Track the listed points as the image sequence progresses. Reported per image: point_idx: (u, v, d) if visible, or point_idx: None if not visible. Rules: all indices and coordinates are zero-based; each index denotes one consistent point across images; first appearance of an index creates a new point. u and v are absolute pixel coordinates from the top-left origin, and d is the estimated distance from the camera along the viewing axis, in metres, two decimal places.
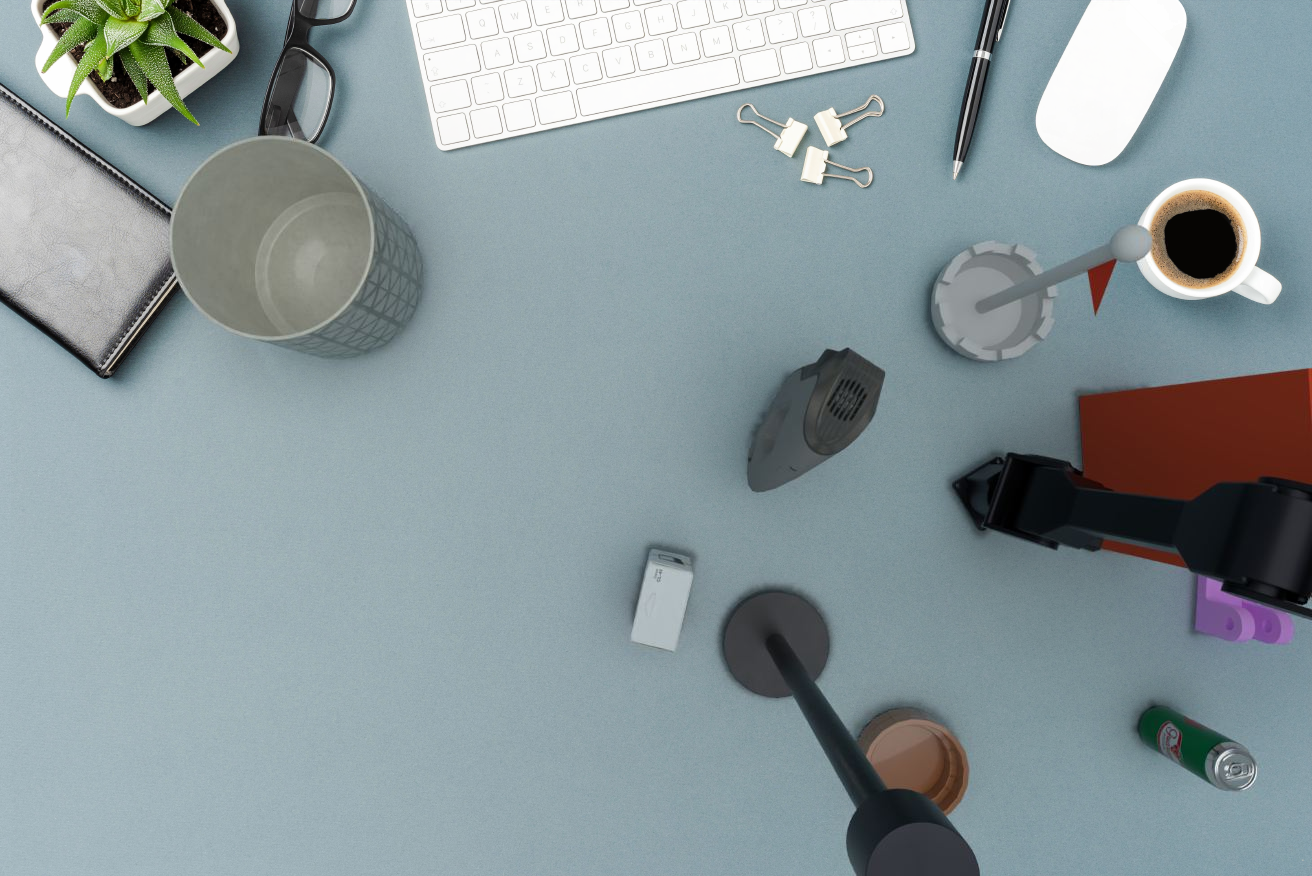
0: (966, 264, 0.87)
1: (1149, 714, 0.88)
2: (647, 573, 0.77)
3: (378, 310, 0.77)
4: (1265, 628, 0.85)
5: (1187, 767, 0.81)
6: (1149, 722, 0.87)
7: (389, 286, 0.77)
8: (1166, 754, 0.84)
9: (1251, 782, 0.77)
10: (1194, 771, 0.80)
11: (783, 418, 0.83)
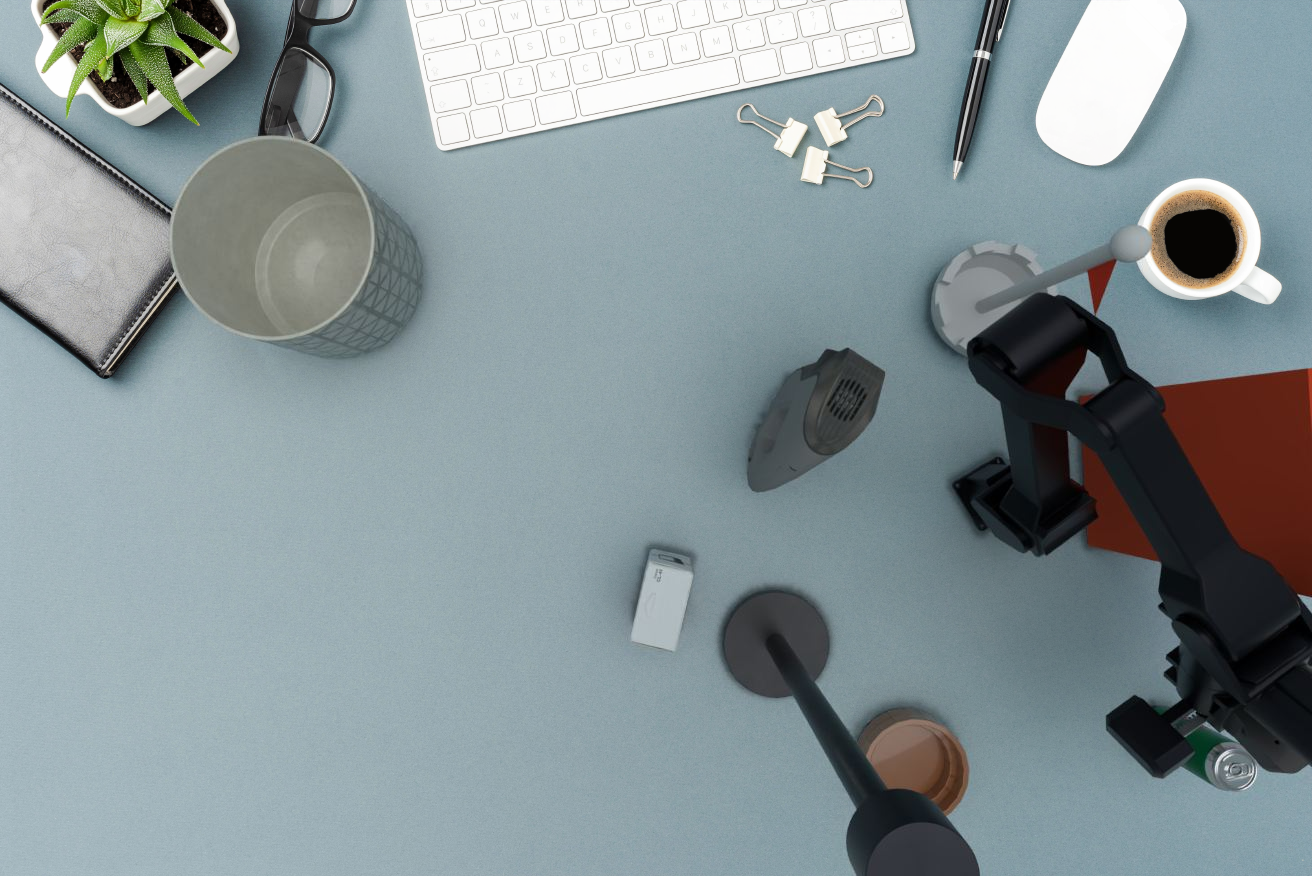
0: (966, 264, 0.87)
1: None
2: (647, 573, 0.77)
3: (378, 310, 0.77)
4: None
5: (1187, 767, 0.81)
6: None
7: (389, 286, 0.77)
8: None
9: (1251, 782, 0.77)
10: (1194, 771, 0.80)
11: (783, 418, 0.83)
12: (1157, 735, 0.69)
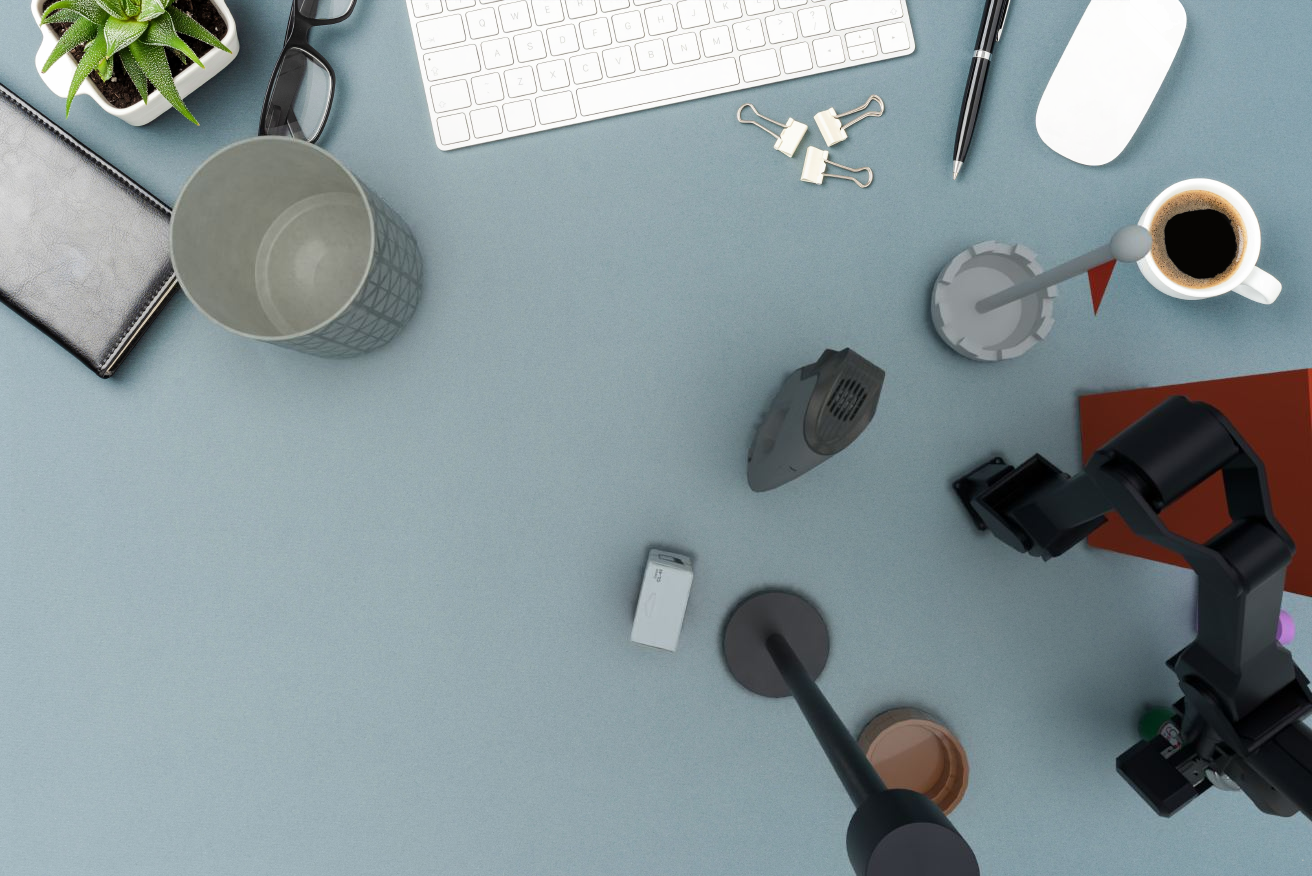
0: (966, 264, 0.87)
1: (1149, 714, 0.88)
2: (647, 573, 0.77)
3: (378, 310, 0.77)
4: None
5: None
6: (1149, 722, 0.87)
7: (389, 286, 0.77)
8: None
9: None
10: None
11: (783, 418, 0.83)
12: (1163, 778, 0.75)
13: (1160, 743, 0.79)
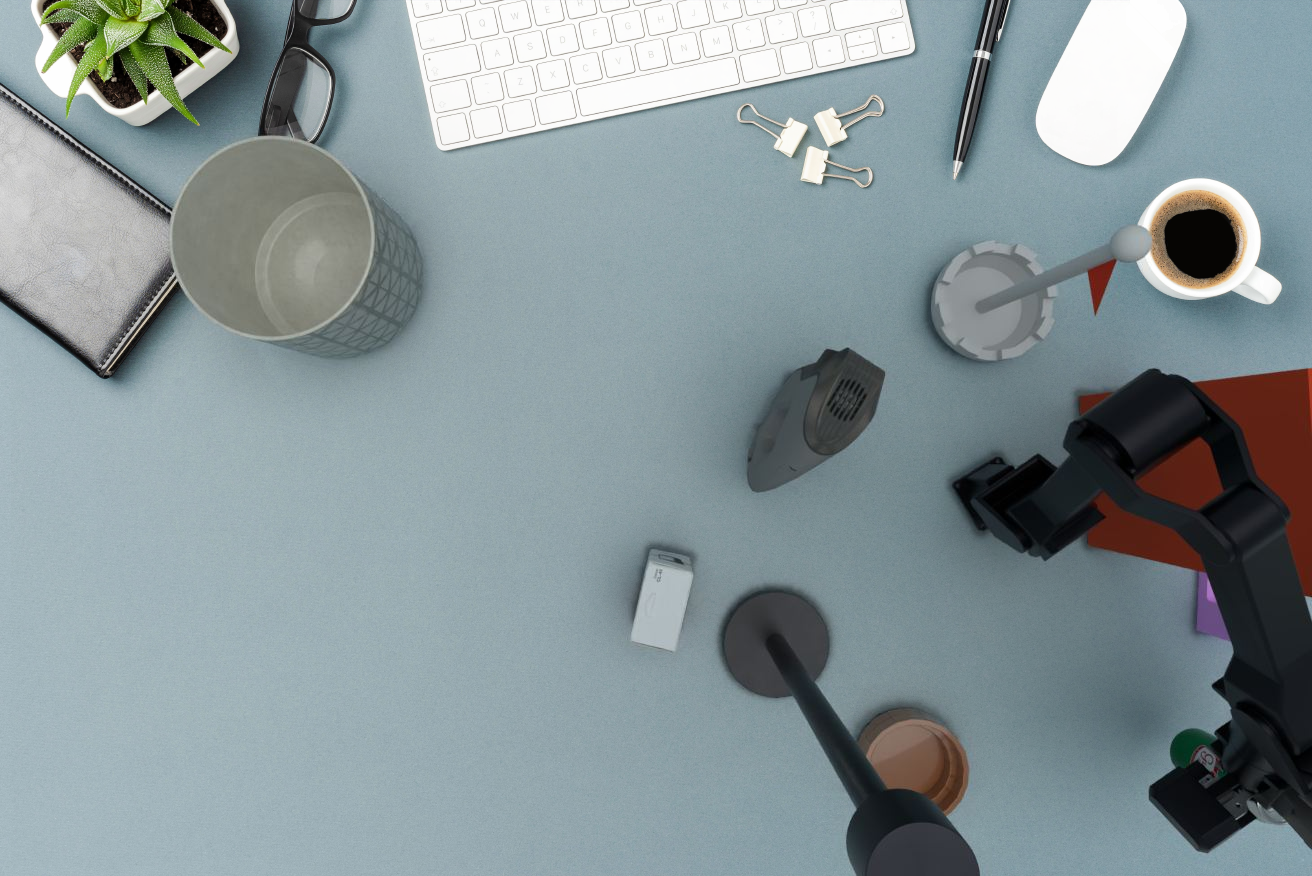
0: (966, 264, 0.87)
1: (1181, 736, 0.81)
2: (647, 573, 0.77)
3: (378, 310, 0.77)
4: None
5: None
6: (1181, 745, 0.81)
7: (389, 286, 0.77)
8: None
9: None
10: None
11: (783, 418, 0.83)
12: (1203, 810, 0.68)
13: (1197, 771, 0.73)
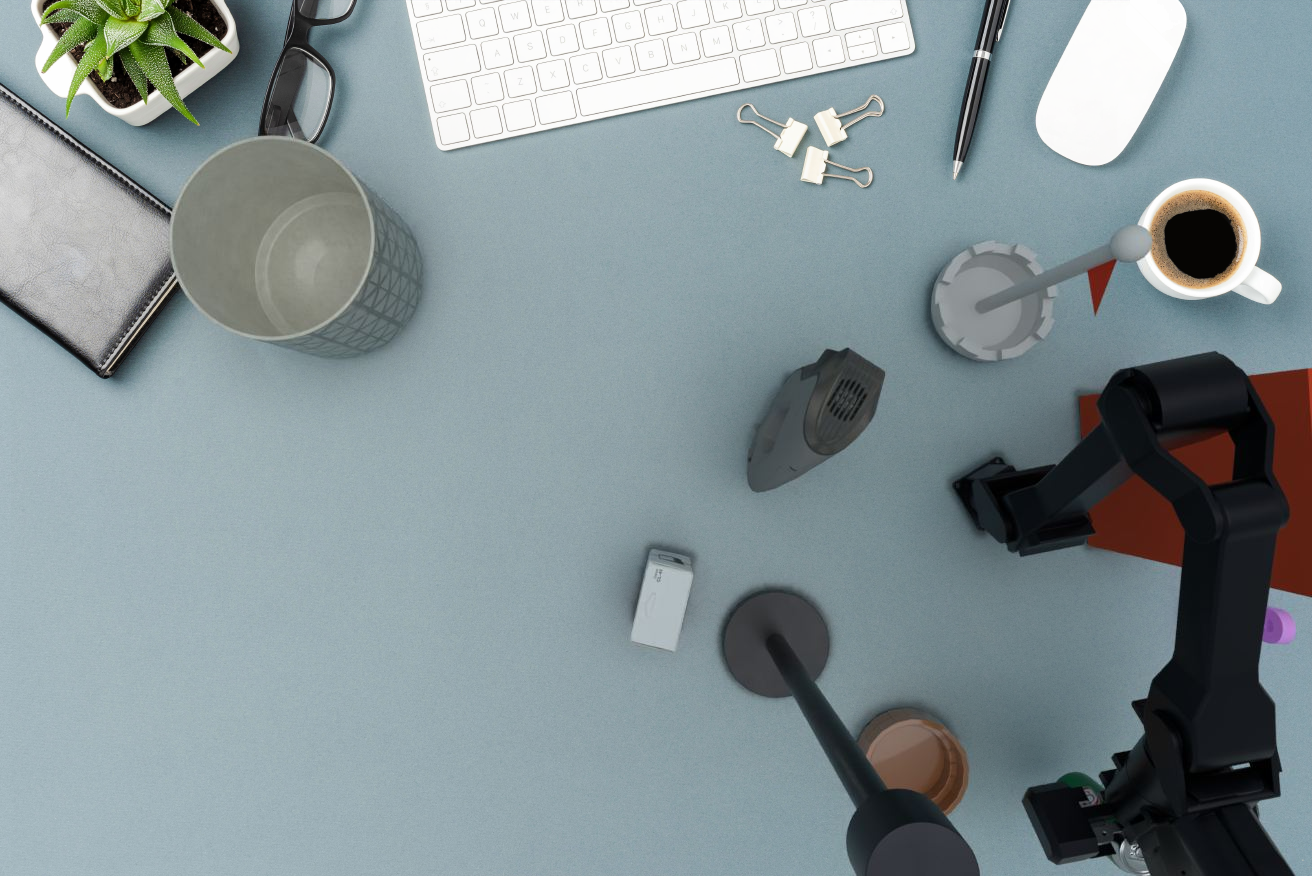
0: (966, 264, 0.87)
1: (1070, 775, 0.81)
2: (647, 573, 0.77)
3: (378, 310, 0.77)
4: (1267, 628, 0.85)
5: None
6: (1067, 782, 0.81)
7: (389, 286, 0.77)
8: None
9: None
10: None
11: (783, 418, 0.83)
12: (1070, 823, 0.68)
13: (1077, 795, 0.73)
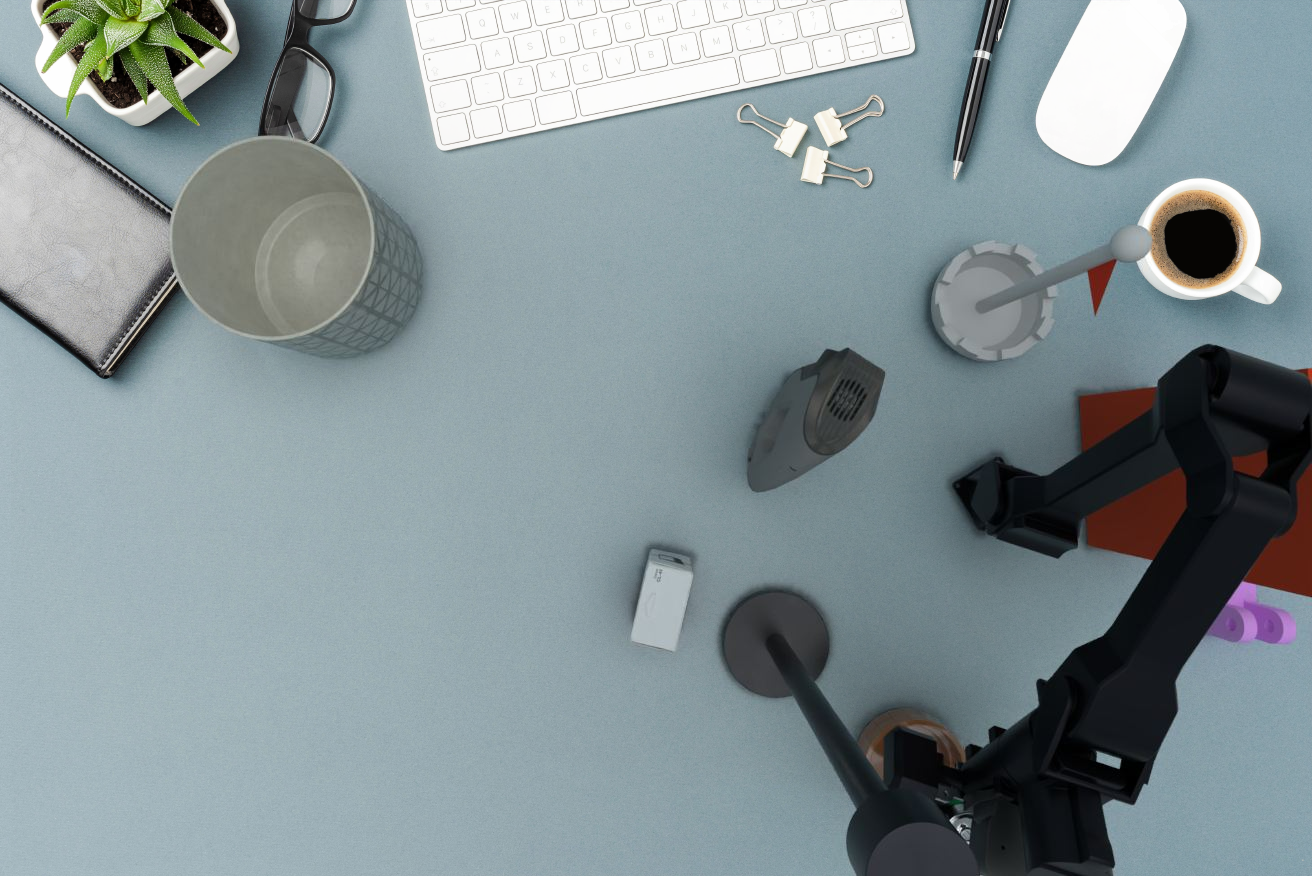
0: (966, 264, 0.87)
1: None
2: (647, 573, 0.77)
3: (378, 310, 0.77)
4: (1267, 628, 0.85)
5: None
6: None
7: (389, 286, 0.77)
8: None
9: None
10: None
11: (783, 418, 0.83)
12: (921, 767, 0.69)
13: None
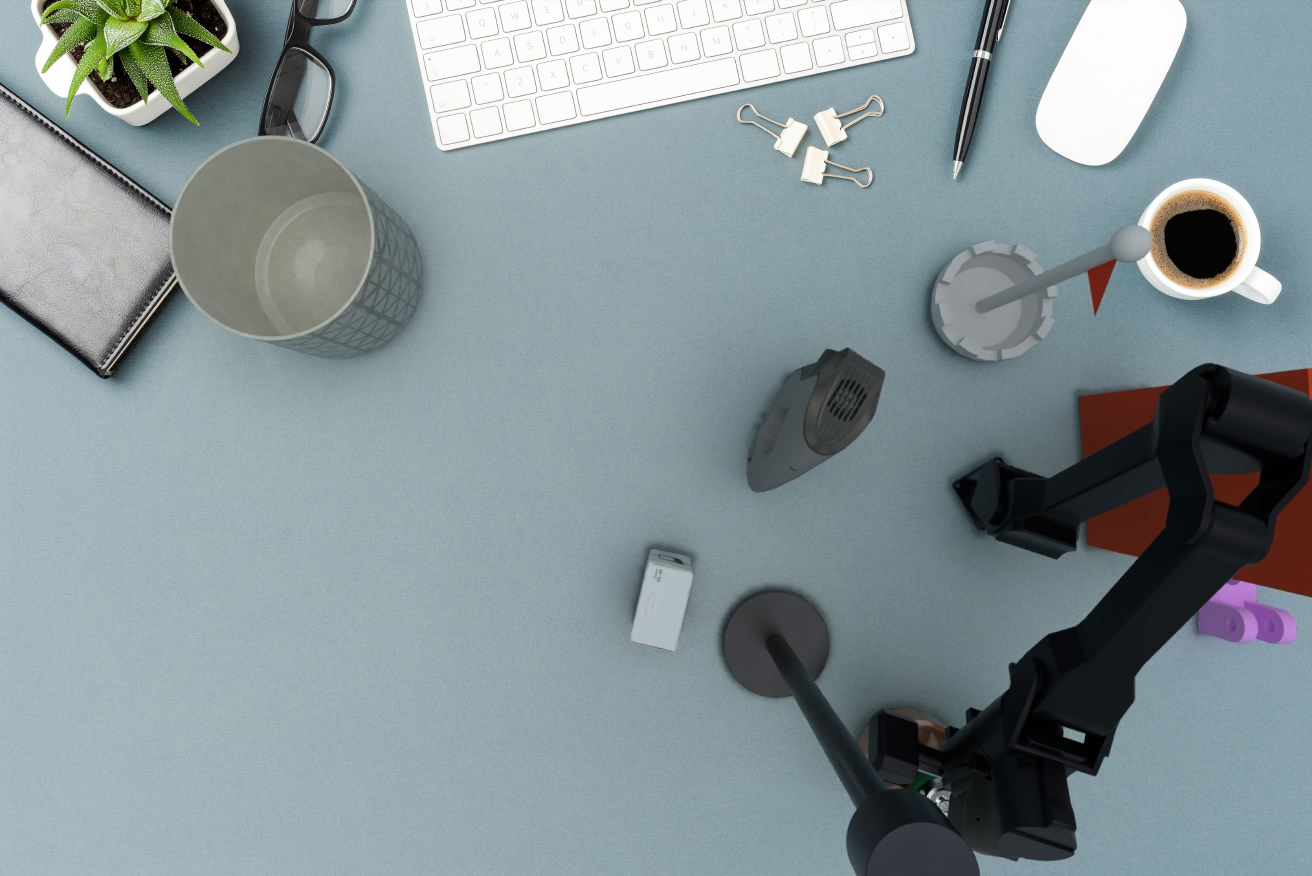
0: (966, 264, 0.87)
1: None
2: (647, 573, 0.77)
3: (378, 310, 0.77)
4: (1268, 628, 0.85)
5: None
6: None
7: (389, 286, 0.77)
8: None
9: None
10: (912, 784, 0.79)
11: (783, 418, 0.83)
12: (903, 746, 0.73)
13: None
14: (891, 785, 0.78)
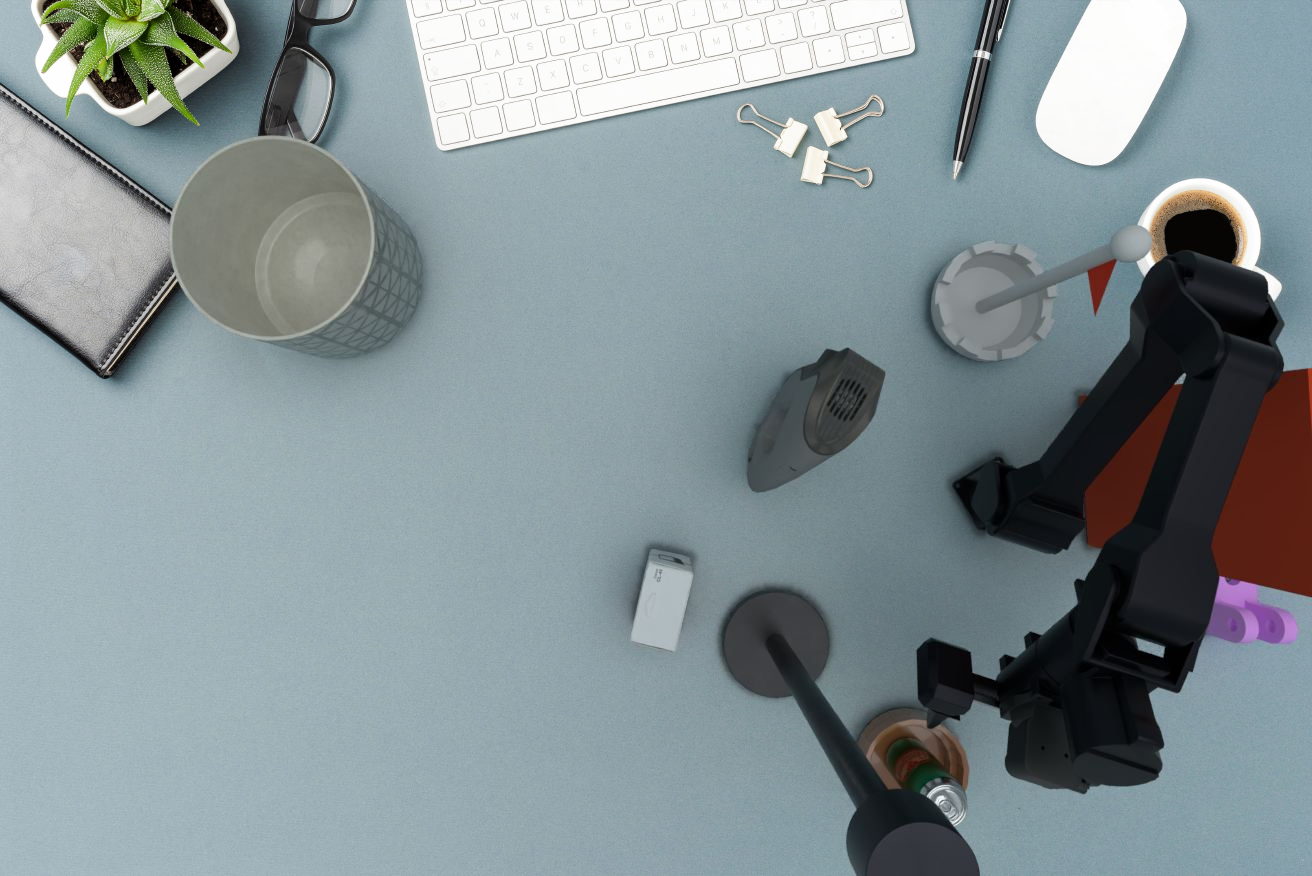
0: (966, 264, 0.87)
1: (913, 740, 0.87)
2: (647, 573, 0.77)
3: (378, 310, 0.77)
4: (1269, 628, 0.85)
5: (908, 780, 0.80)
6: (908, 742, 0.86)
7: (389, 286, 0.77)
8: (898, 766, 0.83)
9: None
10: (912, 784, 0.79)
11: (783, 418, 0.83)
12: (956, 674, 0.68)
13: None
14: (940, 721, 0.73)
